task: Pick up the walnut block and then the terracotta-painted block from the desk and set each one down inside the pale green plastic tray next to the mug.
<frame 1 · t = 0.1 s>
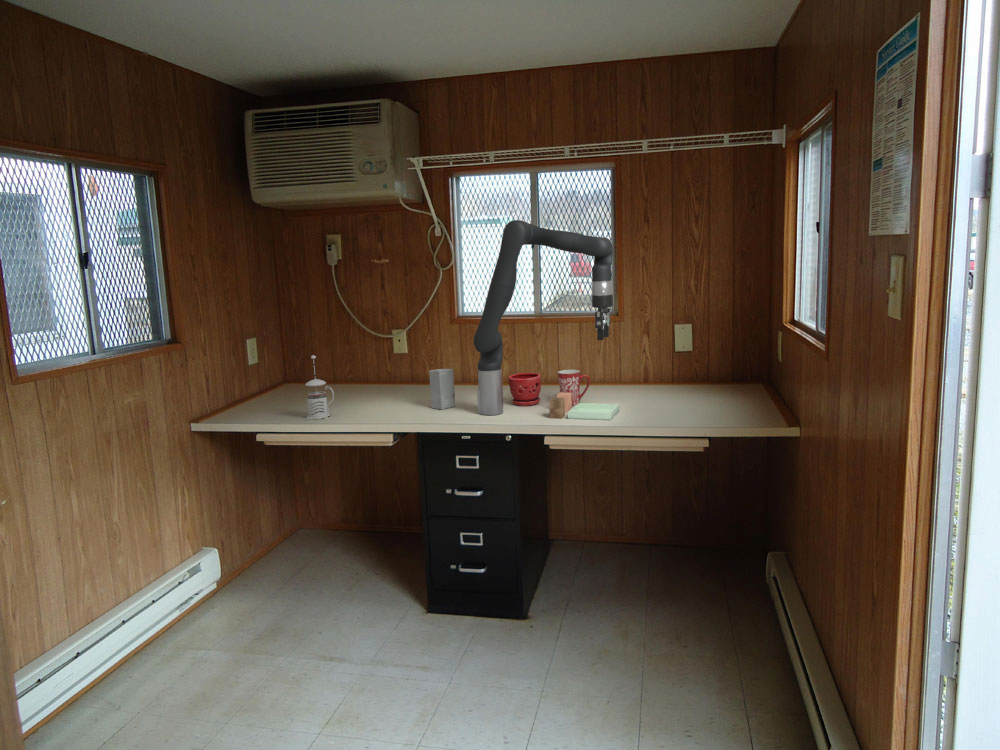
hand: (603, 338, 264), 29 cm above the table, fingers open, 8 cm apart
walnut block: (557, 417, 272), on the table
skincare box: (443, 407, 299), on the table
tray: (594, 414, 273), on the table
plant pot: (525, 404, 298), on the table
french press: (321, 417, 292), on the table
mug: (574, 404, 293), on the table
terracotta block: (564, 411, 281), on the table
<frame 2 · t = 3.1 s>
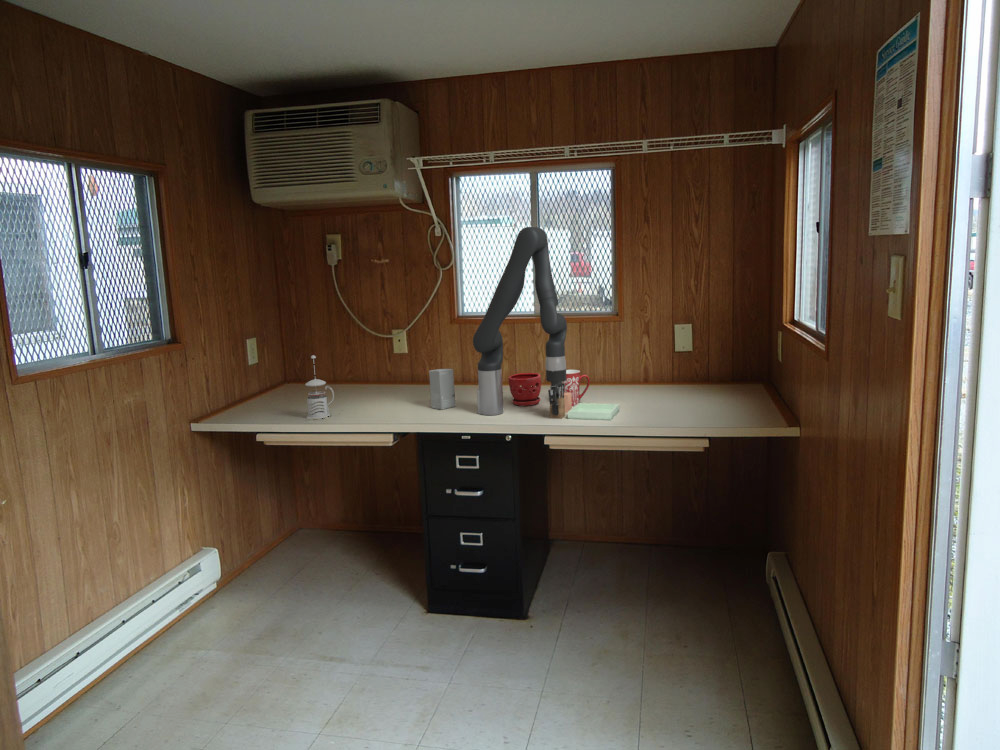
hand: (557, 413, 271), 2 cm above the table, fingers closed on walnut block, 4 cm apart
walnut block: (557, 417, 272), on the table, touching gripper
everything else where it was.
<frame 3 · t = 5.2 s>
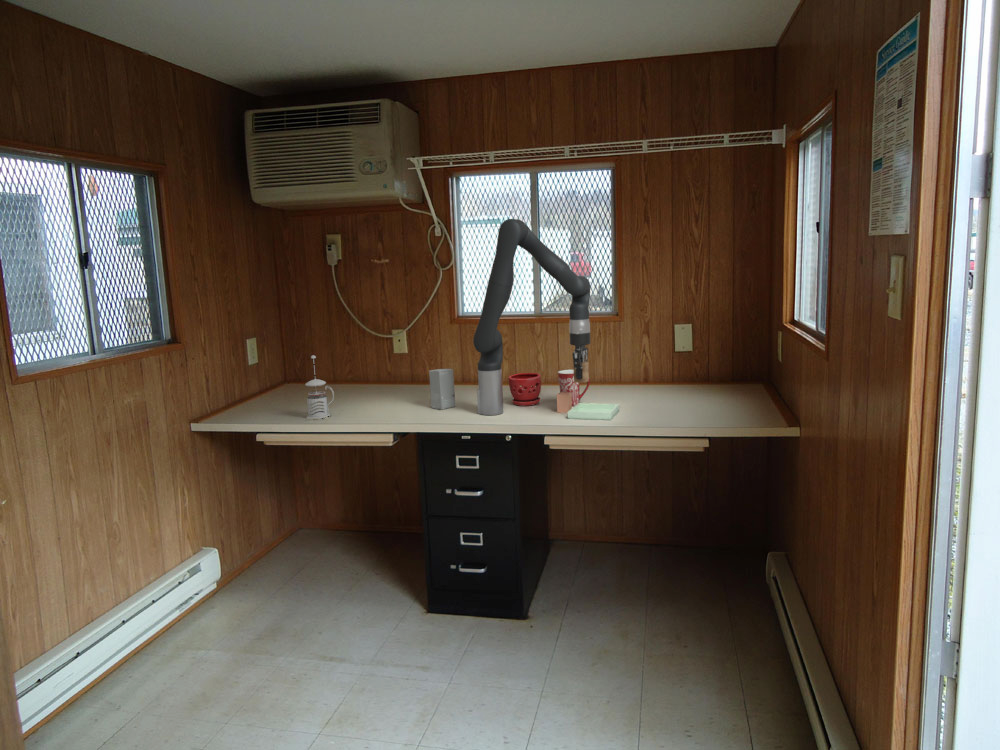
hand: (581, 377, 268), 15 cm above the table, fingers closed on walnut block, 4 cm apart
walnut block: (581, 381, 268), point 13 cm above the table, touching gripper
everything else where it was.
when the fingers open (4 cm above the table, at t = 7.5 s): walnut block drops 2 cm, resting on tray.
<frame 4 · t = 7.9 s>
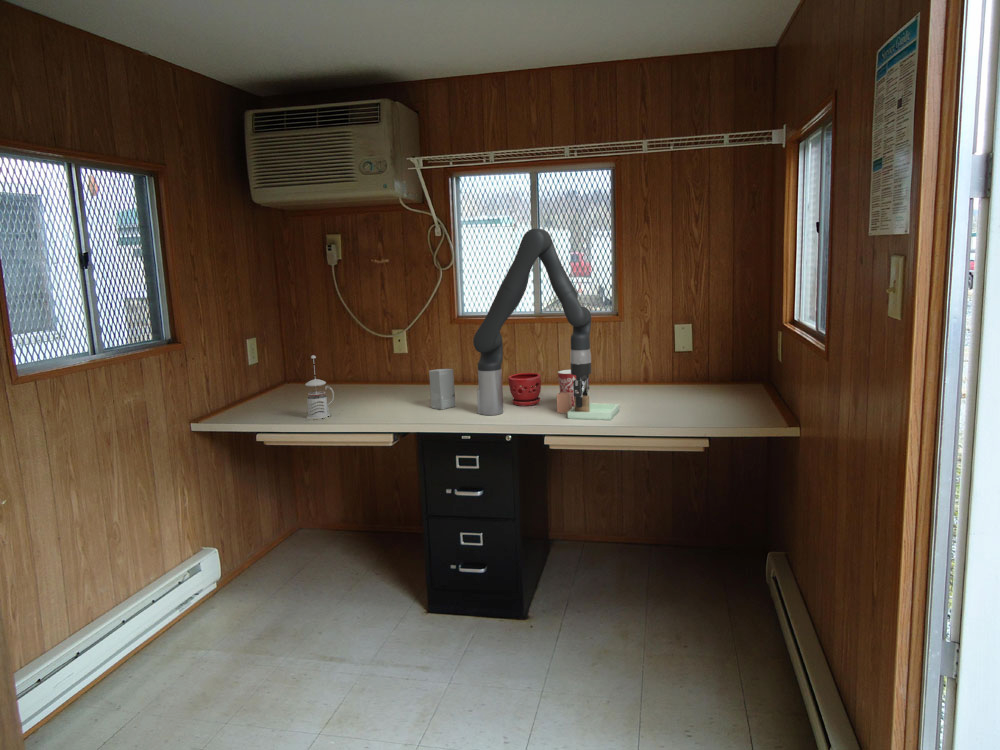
hand: (582, 404, 270), 5 cm above the table, fingers open, 8 cm apart
walnut block: (582, 415, 270), point 1 cm above the table, touching tray
everything else where it was.
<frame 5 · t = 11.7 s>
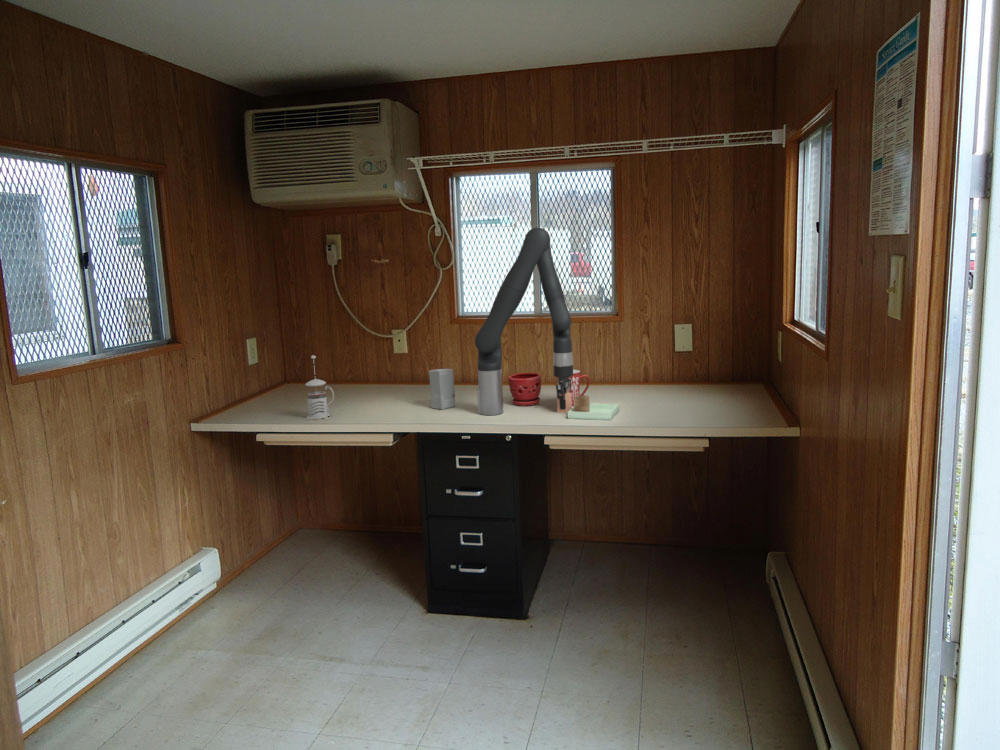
hand: (564, 407, 280), 2 cm above the table, fingers closed on terracotta block, 4 cm apart
terracotta block: (564, 411, 281), on the table, touching gripper
everything else where it was.
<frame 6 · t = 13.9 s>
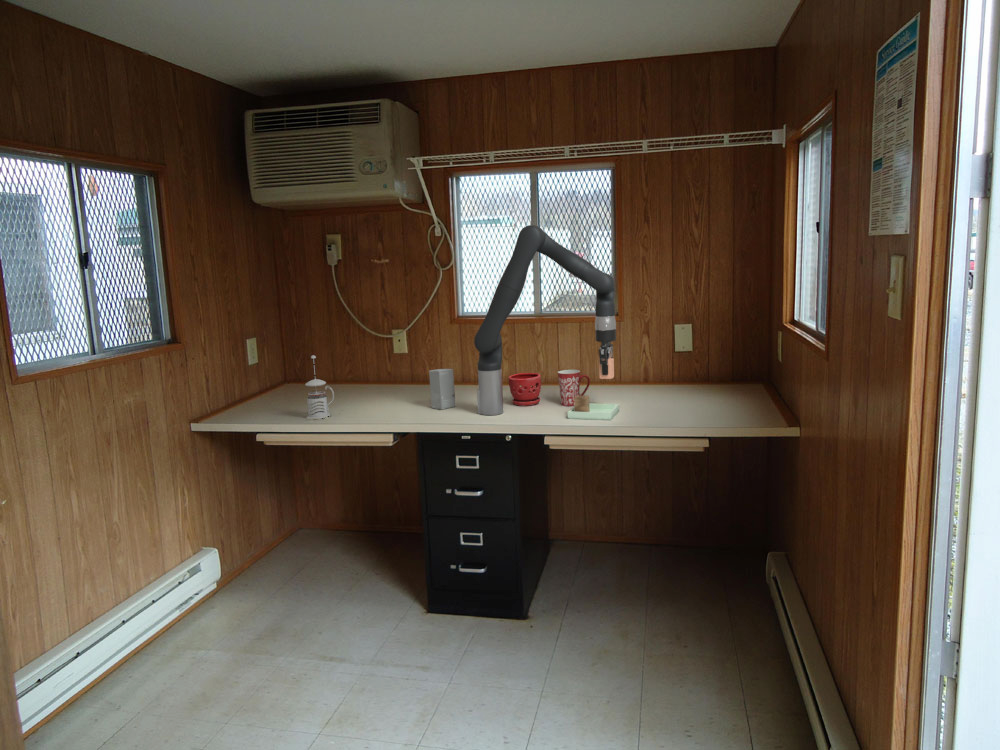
hand: (606, 373, 271), 15 cm above the table, fingers closed on terracotta block, 4 cm apart
terracotta block: (606, 377, 272), point 14 cm above the table, touching gripper
everything else where it was.
when the fingers open (4 cm above the table, at t = 16.3 s): terracotta block drops 2 cm, resting on tray.
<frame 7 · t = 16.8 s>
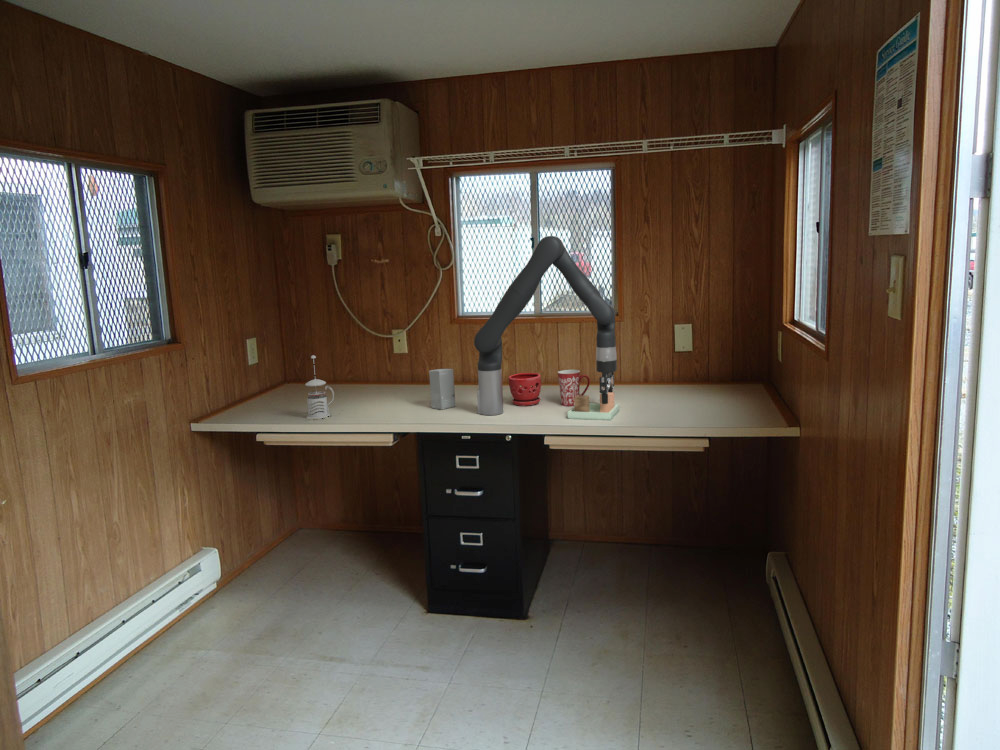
hand: (607, 401, 273), 5 cm above the table, fingers open, 8 cm apart
terracotta block: (607, 411, 274), point 1 cm above the table, touching tray
everything else where it was.
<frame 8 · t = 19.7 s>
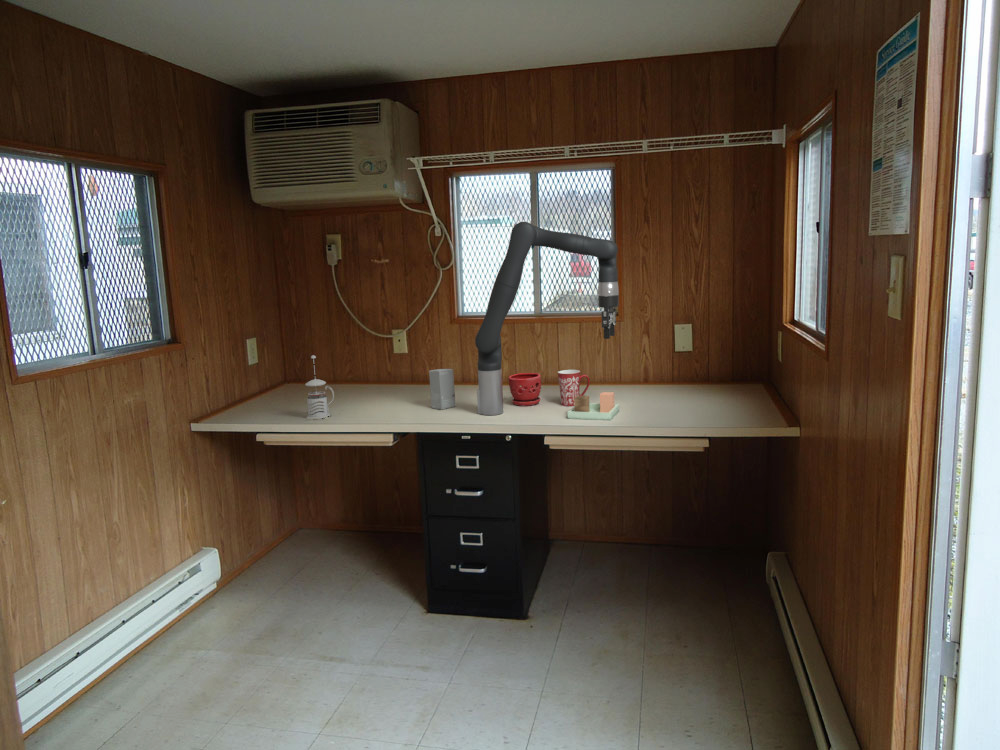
hand: (609, 337, 275), 28 cm above the table, fingers open, 8 cm apart
nothing on the table moved.
at the end: walnut block inside the target area on the tray (5.3 cm from its centre), point 0.6 cm above the tray's base; terracotta block inside the target area on the tray (5.4 cm from its centre), point 0.6 cm above the tray's base; the gripper is holding nothing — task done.
